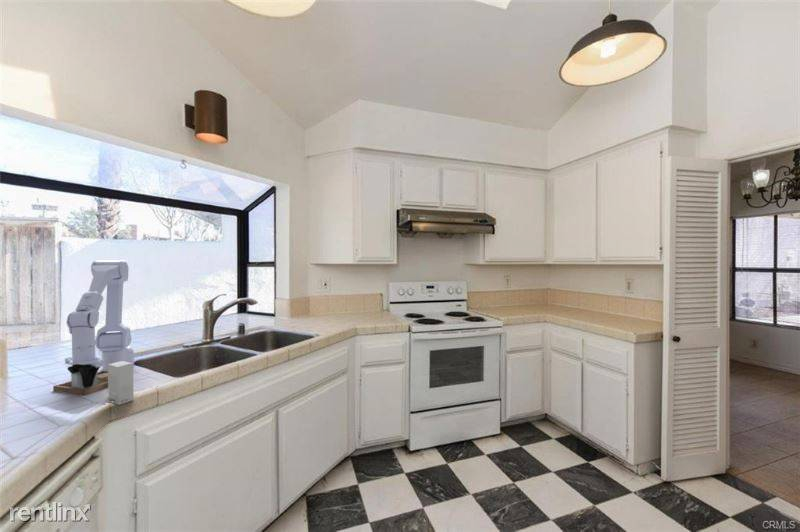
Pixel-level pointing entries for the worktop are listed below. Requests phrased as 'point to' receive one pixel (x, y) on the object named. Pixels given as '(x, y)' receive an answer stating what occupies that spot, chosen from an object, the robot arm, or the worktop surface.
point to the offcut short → (102, 378)
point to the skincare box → (120, 382)
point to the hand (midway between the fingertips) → (84, 386)
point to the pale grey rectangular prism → (80, 380)
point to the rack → (67, 389)
